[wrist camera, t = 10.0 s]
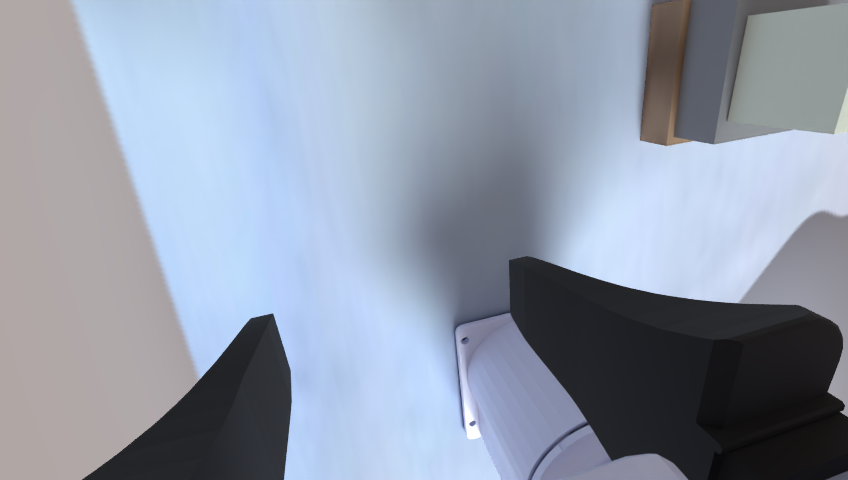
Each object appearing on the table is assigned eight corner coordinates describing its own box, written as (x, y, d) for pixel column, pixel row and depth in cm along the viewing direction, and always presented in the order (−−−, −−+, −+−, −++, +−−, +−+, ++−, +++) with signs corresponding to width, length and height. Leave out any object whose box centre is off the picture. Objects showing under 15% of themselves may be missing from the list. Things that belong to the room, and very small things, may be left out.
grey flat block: (771, 119, 24) (819, 124, 21) (673, 137, 22) (714, 144, 20) (800, -12, 21) (858, -22, 19) (691, 0, 20) (739, -10, 18)
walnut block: (731, 121, 26) (771, 126, 24) (634, 139, 25) (666, 145, 23) (754, -6, 23) (801, -15, 21) (646, 6, 22) (683, -2, 20)
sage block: (801, 111, 21) (920, 120, 17) (727, 121, 20) (833, 134, 16) (828, 9, 19) (968, -9, 15) (748, 15, 18) (874, -1, 14)
